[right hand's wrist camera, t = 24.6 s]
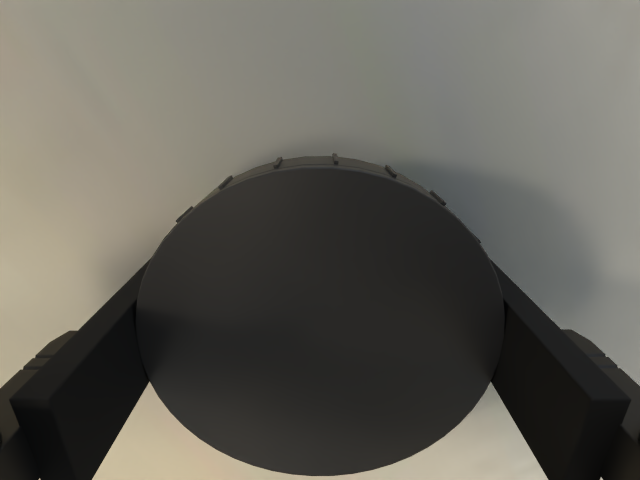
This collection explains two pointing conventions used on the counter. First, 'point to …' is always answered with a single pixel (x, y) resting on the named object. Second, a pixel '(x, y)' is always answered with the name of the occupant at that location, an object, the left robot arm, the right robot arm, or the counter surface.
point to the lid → (320, 317)
